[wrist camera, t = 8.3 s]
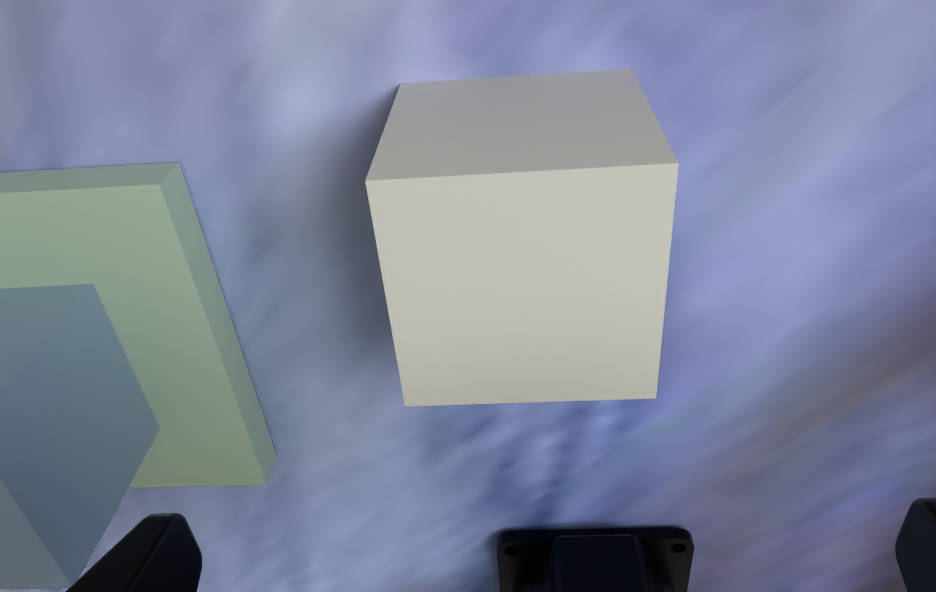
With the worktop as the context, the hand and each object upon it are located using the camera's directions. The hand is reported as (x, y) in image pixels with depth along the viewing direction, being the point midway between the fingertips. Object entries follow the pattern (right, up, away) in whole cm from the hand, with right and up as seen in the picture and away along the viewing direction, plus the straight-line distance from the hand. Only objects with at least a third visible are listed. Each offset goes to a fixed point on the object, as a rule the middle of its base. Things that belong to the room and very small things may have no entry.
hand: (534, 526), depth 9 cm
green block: (-12, +2, +11) cm, 17 cm away
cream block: (0, +6, +8) cm, 10 cm away
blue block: (-12, +1, +10) cm, 16 cm away
